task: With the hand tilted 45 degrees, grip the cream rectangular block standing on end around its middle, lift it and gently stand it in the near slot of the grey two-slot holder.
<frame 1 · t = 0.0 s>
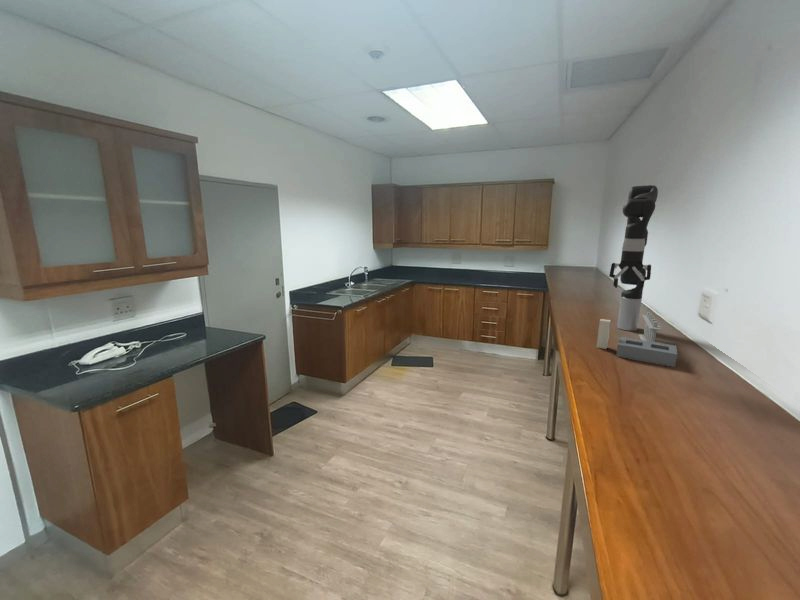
hand: (627, 288, 145), 29 cm above the counter, tool pointing down, fingers open, 8 cm apart
cream rectangular block: (601, 347, 160), on the counter
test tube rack: (647, 344, 164), on the counter
grey two-slot holder: (644, 357, 148), on the counter
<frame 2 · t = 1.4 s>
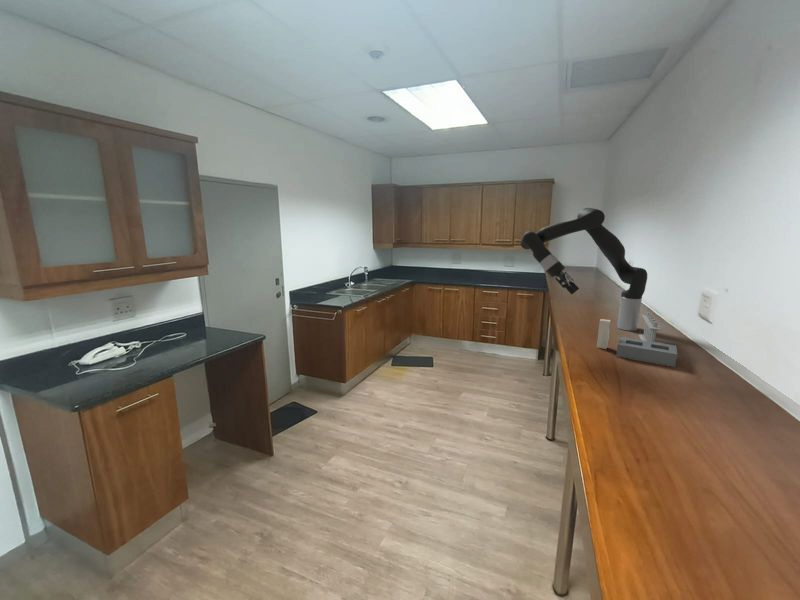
hand: (575, 291, 162), 25 cm above the counter, tool tilted 45°, fingers open, 8 cm apart
nothing on the counter moved.
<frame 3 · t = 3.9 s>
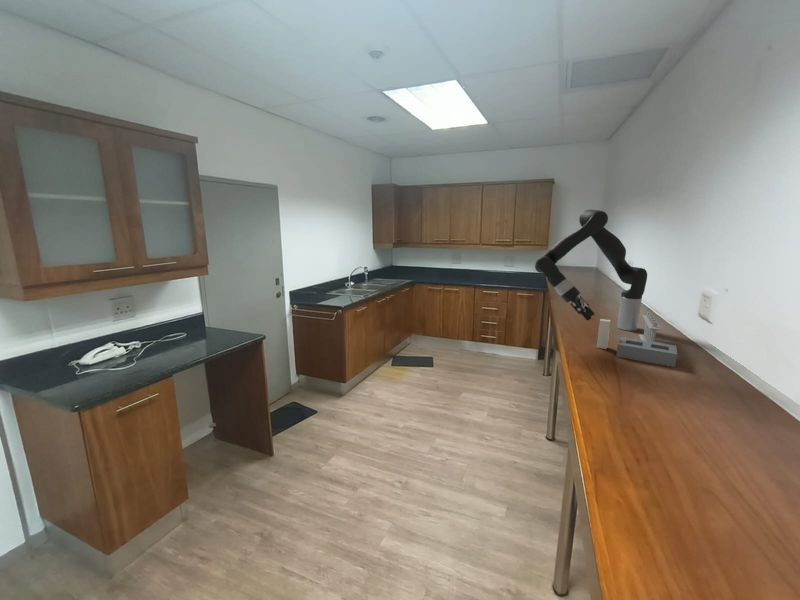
hand: (591, 317, 160), 13 cm above the counter, tool tilted 45°, fingers open, 8 cm apart
nothing on the counter moved.
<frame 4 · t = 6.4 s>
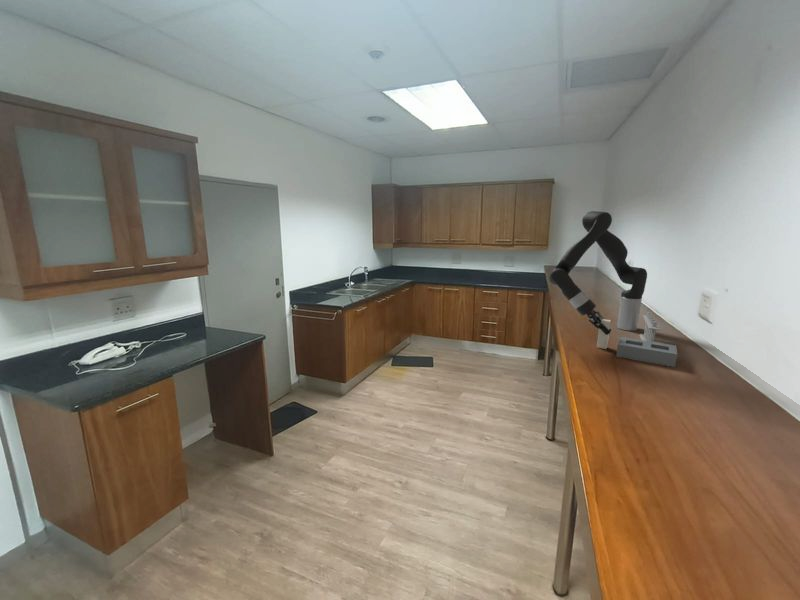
hand: (608, 332, 157), 7 cm above the counter, tool tilted 45°, fingers closed on cream rectangular block, 3 cm apart
cream rectangular block: (601, 347, 160), on the counter, touching gripper
everything else where it was.
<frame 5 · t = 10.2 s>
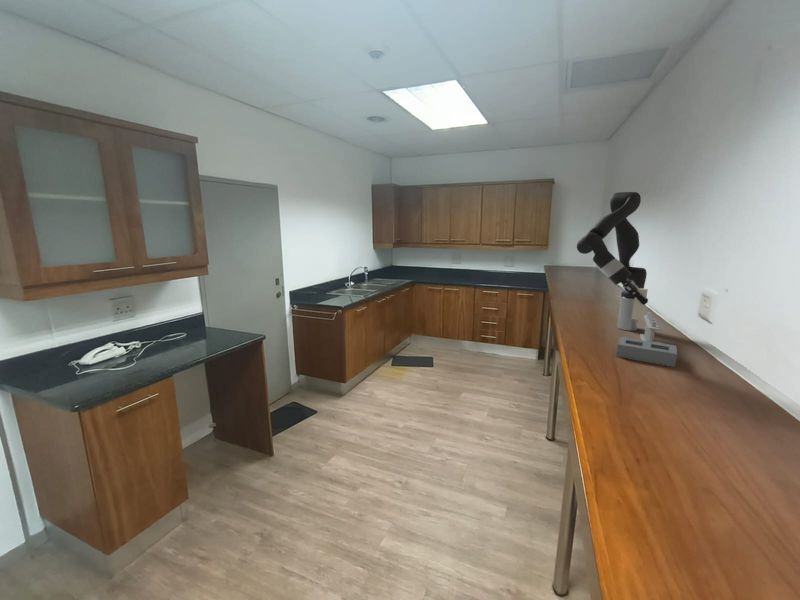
hand: (645, 302, 144), 24 cm above the counter, tool tilted 45°, fingers closed on cream rectangular block, 3 cm apart
cream rectangular block: (637, 318, 147), point 16 cm above the counter, touching gripper
everything else where it was.
when the fingers open (10 cm above the counter, at t = 14.1 s): cream rectangular block stays where it is, resting on grey two-slot holder.
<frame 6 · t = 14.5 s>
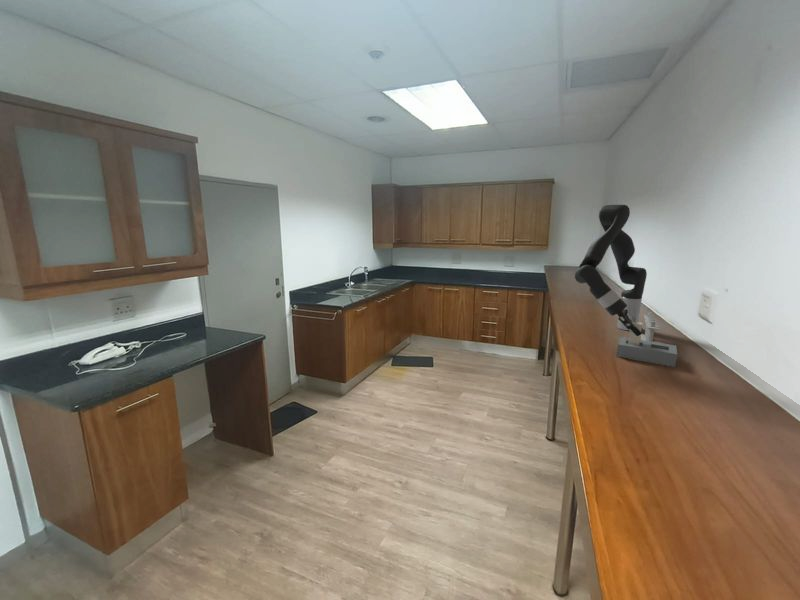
hand: (640, 332, 147), 10 cm above the counter, tool tilted 45°, fingers open, 7 cm apart
cream rectangular block: (632, 351, 150), point 2 cm above the counter, touching grey two-slot holder
everything else where it was.
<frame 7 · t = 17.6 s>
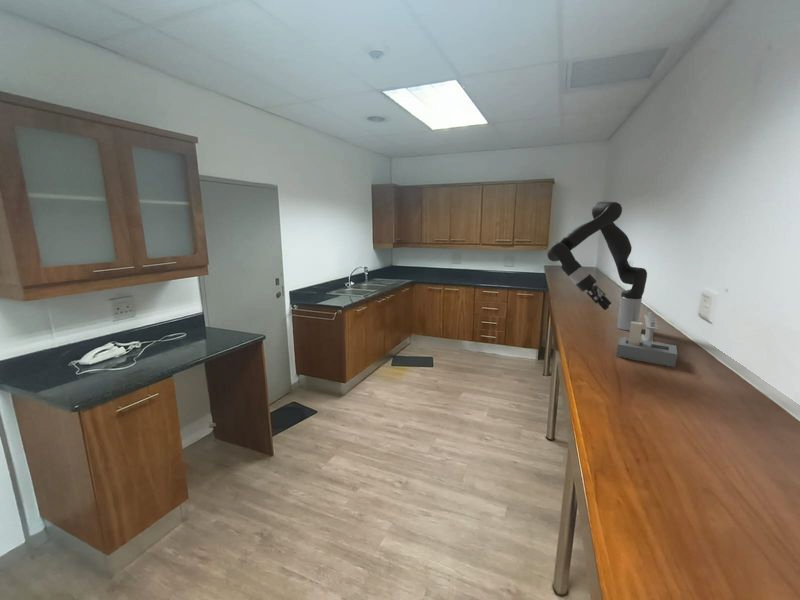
hand: (608, 306, 153), 20 cm above the counter, tool tilted 45°, fingers open, 8 cm apart
nothing on the counter moved.
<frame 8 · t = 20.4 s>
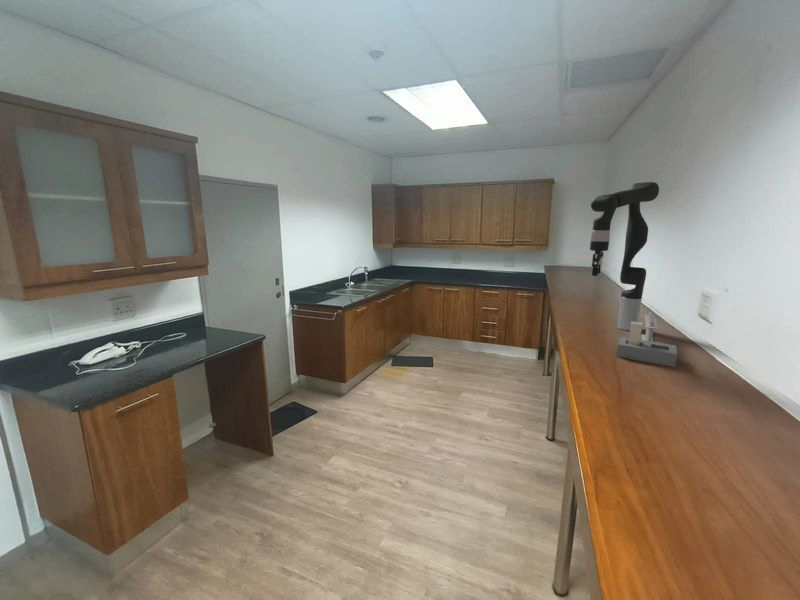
hand: (595, 274, 165), 32 cm above the counter, tool pointing down, fingers open, 8 cm apart
nothing on the counter moved.
at the end: cream rectangular block 0.1 cm from the target spot on the grey two-slot holder, point 1.5 cm above the grey two-slot holder's base; cream rectangular block tilted 0°; the gripper is holding nothing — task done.
